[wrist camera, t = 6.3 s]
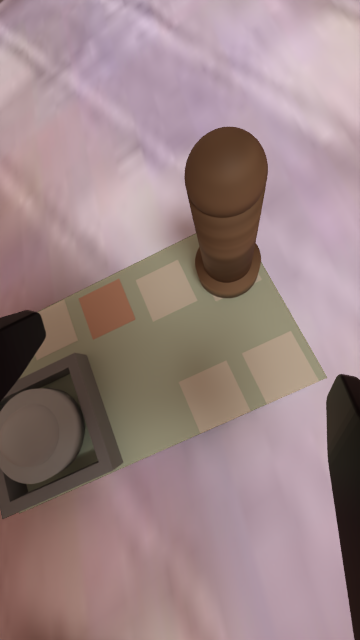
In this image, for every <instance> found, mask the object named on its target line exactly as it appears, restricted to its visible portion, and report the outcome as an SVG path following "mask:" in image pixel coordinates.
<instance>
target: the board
mask: <svg viewBox="0 0 360 640" xmlns="http://www.w3.org/2000/svg"><path fill="white" fill-rule="evenodd" d="M198 248H199V243H198V238H197V234H194V235H192V236H190V237H188V238H186V239H184V240H182V241H180V242H177V243H175V244H173V245H171V246H169V247H167V248H165V249H163V250H161V251H159V252H157V253H155V254H153V255H151V256H149V257H147V258H145V259H143V260H141V261H139V262H137V263H135V264H133V265H131V266H129V267H127V268H125V269H123V270H121V271H119V272H117V273H115V274H113V275H111V276H109V277H107V278H105V279H103V280H101V281H99V282H97V283H95V284H93V285H91V286H89V287H87V288H85V289H83V290H81V291H79V292H77V293H75V294H73V295H71V296H69V297H67V298H64V299H62V300H60V301H58V302H56V303H54V304H52V305H50V306H48V307H46V308H44V309H42V310H40V311H38V313H39V314H40V315H41V317H42V320H43V324H44V327H45V331H46V338H45V340H44V342H43V343H42V345H41V346H40V348H39V349H38V351H37V352H36V354H35V356H34V357H33V359H32V360H31V362H30V363H29V365H28V366H27V368H26V369H25V371H24V372H23V374H22V375H21V377H20V378H19V379H18V381H17V382H16V383H15V385H14V386H13V387H12V388H11V390H10V391H9V392H8V393H7V395H6V396H5V397H4V398H3V400H2V401H1V402H0V411H1V410H2V408H3V407H4V406H5V405H6V403H7V402H8V401H9V400H10V399H11V398H13V397H14V396H15V395H17V394H19V393H21V392H23V391H26V390H30V389H41V388H54V389H59V390H62V391H64V392H66V393H68V394H69V395H70V396H71V397H72V398H73V399H74V400H75V401H76V402H77V404H78V405H79V407H80V409H81V411H82V414H83V418H84V424H85V433H84V440H83V444H82V447H81V449H80V451H79V454H78V455H77V457H76V458H75V460H74V461H73V462H72V463H71V464H70V465H69V466H68V467H67V468H66V469H65V470H63V471H61V472H60V473H58V474H56V475H54V476H52V477H50V478H48V479H46V480H45V481H42V482H39V483H35V484H24V483H19V482H17V481H14V480H12V479H11V478H9V477H8V476H7V475H6V474H5V473H4V472H3V471H2V470H1V468H0V510H1V515H2V519H4V518H7V517H9V516H11V515H13V514H16V513H18V512H19V513H22V512H24V511H26V510H28V509H31V508H33V507H35V506H38V505H40V504H42V503H44V502H47V501H49V500H51V499H53V498H56V497H58V496H60V495H62V494H65V493H67V492H69V491H71V490H74V489H76V488H78V487H81V486H83V485H85V484H87V483H90V482H92V481H94V480H96V479H99V478H101V477H103V476H105V475H108V474H110V473H112V472H114V471H117V470H119V469H121V468H124V467H126V466H128V465H130V464H133V463H135V462H137V461H139V460H142V459H144V458H146V457H148V456H151V455H153V454H155V453H157V452H160V451H162V450H164V449H167V448H169V447H171V446H173V445H176V444H178V443H180V442H182V441H185V440H187V439H189V438H191V437H194V436H196V435H198V434H201V433H203V432H205V431H207V430H210V429H212V428H214V427H216V426H219V425H221V424H223V423H226V422H228V421H230V420H232V419H235V418H237V417H239V416H241V415H244V414H246V413H248V412H250V411H253V410H255V409H257V408H259V407H262V406H264V405H266V404H269V403H271V402H273V401H275V400H278V399H280V398H282V397H284V396H287V395H289V394H291V393H293V392H296V391H298V390H300V389H302V388H305V387H307V386H309V385H312V384H314V383H316V382H318V381H320V380H323V379H325V378H327V376H326V374H325V373H324V371H323V369H322V367H321V366H320V364H319V362H318V360H317V359H316V357H315V355H314V353H313V352H312V350H311V348H310V346H309V345H308V343H307V341H306V339H305V338H304V336H303V334H302V332H301V331H300V329H299V327H298V325H297V324H296V322H295V320H294V318H293V317H292V315H291V313H290V311H289V310H288V308H287V306H286V304H285V303H284V301H283V299H282V297H281V296H280V294H279V292H278V290H277V289H276V287H275V285H274V283H273V282H272V280H271V278H270V276H269V275H268V273H267V271H266V269H265V268H264V266H263V264H262V262H261V264H260V269H259V272H258V276H257V279H256V281H255V283H254V285H253V286H252V287H251V288H250V289H249V290H248V291H247V292H246V293H244V294H242V295H240V296H238V297H234V298H220V297H216V296H214V295H212V294H210V293H209V292H207V291H206V290H205V289H204V287H203V286H202V284H201V283H200V280H199V277H198V274H197V271H196V267H195V257H196V253H197V250H198Z"/></svg>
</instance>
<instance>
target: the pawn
mask: <svg viewBox="0 0 360 640" xmlns="http://www.w3.org/2000/svg"><path fill="white" fill-rule="evenodd" d="M267 175H268V164H267V158H266V155H265V152H264V149H263V148H262V146H261V144H260V143H259V141H258V140H257V139H256V138H255V137H254V136H253V135H252V134H250V133H249V132H247V131H245V130H243V129H240V128H237V127H222V128H218V129H215V130H213V131H211V132H209V133H207V134H206V135H205V136H203V137H202V138H201V139H200V140H199V141H198V142H197V143H196V144H195V146H194V147H193V149H192V150H191V152H190V154H189V157H188V159H187V163H186V167H185V186H186V190H187V195H188V199H189V203H190V208H191V212H192V216H193V221H194V225H195V229H196V234H197V238H198V243H199V248H198V250H197V253H196V257H195V267H196V271H197V274H198V277H199V280H200V283H201V284H202V286H203V287H204V289H205V290H206V291H207V292H209V293H210V294H212V295H214V296H216V297H220V298H234V297H238V296H240V295H242V294H244V293H246V292H247V291H248V290H249V289H250V288H251V287H252V286H253V285H254V283H255V281H256V279H257V276H258V272H259V269H260V264H261V255H260V251H259V248H258V246H257V244H256V243H255V242H256V237H257V231H258V226H259V220H260V215H261V209H262V204H263V198H264V193H265V187H266V181H267Z"/></svg>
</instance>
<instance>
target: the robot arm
mask: <svg viewBox="0 0 360 640" xmlns="http://www.w3.org/2000/svg"><path fill="white" fill-rule="evenodd" d="M45 338H46V331H45V327H44V324H43V320H42V317H41V315H40V314H39V313H38V312H34V311H29V310H25V311H22V312H18V313H15V314H11V315H8V316H5V317H1V318H0V402H1V401H2V400H3V398H4V397H5V396H6V395H7V393H8V392H9V391H10V390H11V388H12V387H13V386H14V385H15V383H16V382H17V381H18V379H19V378H20V377H21V375H22V374H23V372H24V371H25V369H26V368H27V366H28V365H29V363H30V362H31V360H32V359H33V357H34V356H35V354H36V352H37V351H38V349H39V348H40V346H41V345H42V343H43V342H44V340H45ZM326 410H327V450H328V463H329V471H330V478H331V484H332V491H333V498H334V504H335V511H336V518H337V525H338V531H339V538H340V545H341V552H342V558H343V565H344V572H345V579H346V585H347V592H348V599H349V606H350V612H351V619H352V626H353V633H354V639H355V640H360V380H359V379H358V378H357V377H354V376H349V375H344V374H340V375H338V376H337V377H336V379H335V381H334V383H333V385H332V387H331V390H330V392H329V394H328V396H327V402H326Z"/></svg>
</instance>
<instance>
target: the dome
mask: <svg viewBox="0 0 360 640" xmlns="http://www.w3.org/2000/svg"><path fill="white" fill-rule="evenodd" d="M84 433H85V424H84V418H83V414H82V411H81V409H80V407H79V405H78V404H77V402H76V401H75V400H74V399H73V398H72V397H71V396H70V395H69V394H68V393H66V392H64V391H62V390H59V389H54V388H41V389H30V390H26V391H23V392H21V393H19V394H17V395H15V396H14V397H13V398H11V399H10V400H9V401H8V402H7V403H6V405H5V406H4V407H3V408H2V410H1V411H0V468H1V470H2V471H3V472H4V473H5V474H6V475H7V476H8V477H9V478H11V479H12V480H14V481H17V482H19V483H24V484H35V483H39V482H42V481H45V480H46V479H48V478H50V477H52V476H54V475H56V474H58V473H60V472H61V471H63V470H65V469H66V468H67V467H68V466H69V465H70V464H71V463H72V462H73V461H74V460H75V458H76V457H77V455H78V454H79V451H80V449H81V447H82V444H83V440H84Z"/></svg>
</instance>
